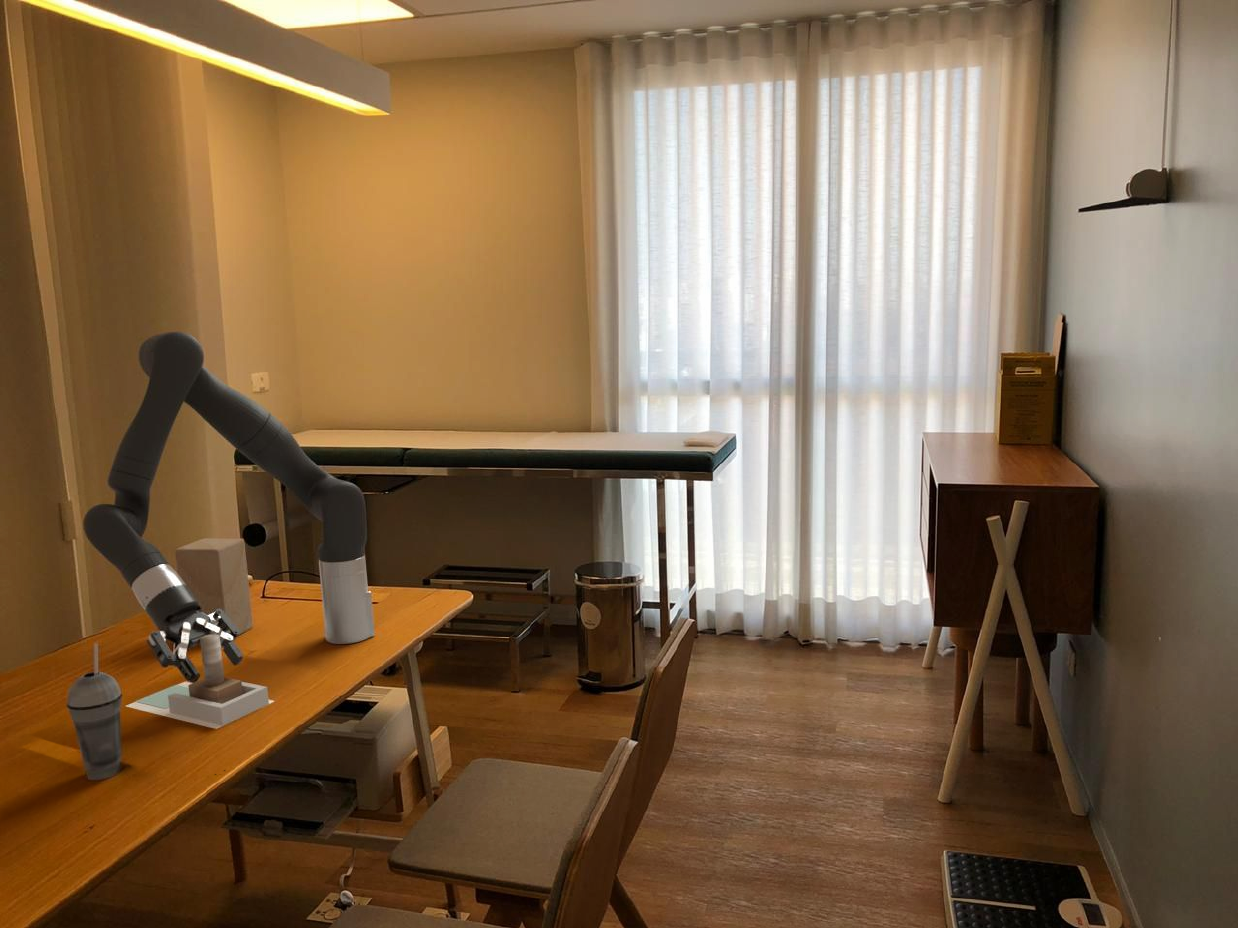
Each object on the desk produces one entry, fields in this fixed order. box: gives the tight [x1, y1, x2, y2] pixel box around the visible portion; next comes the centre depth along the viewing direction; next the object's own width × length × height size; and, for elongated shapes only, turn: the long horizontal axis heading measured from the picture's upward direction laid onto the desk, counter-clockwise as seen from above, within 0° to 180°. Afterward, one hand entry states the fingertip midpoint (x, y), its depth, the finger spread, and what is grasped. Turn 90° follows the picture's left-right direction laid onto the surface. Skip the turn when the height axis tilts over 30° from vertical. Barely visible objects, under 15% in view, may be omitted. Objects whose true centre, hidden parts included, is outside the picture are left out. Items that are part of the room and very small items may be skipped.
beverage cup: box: [66, 643, 123, 781], centre depth 143 cm, size 7×7×20 cm
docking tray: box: [124, 681, 276, 730], centre depth 166 cm, size 23×12×4 cm, turn 62°
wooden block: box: [174, 537, 254, 640], centre depth 206 cm, size 10×10×20 cm
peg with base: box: [188, 634, 243, 704], centre depth 163 cm, size 7×5×12 cm
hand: (218, 670), depth 162 cm, fingers open, 8 cm apart
